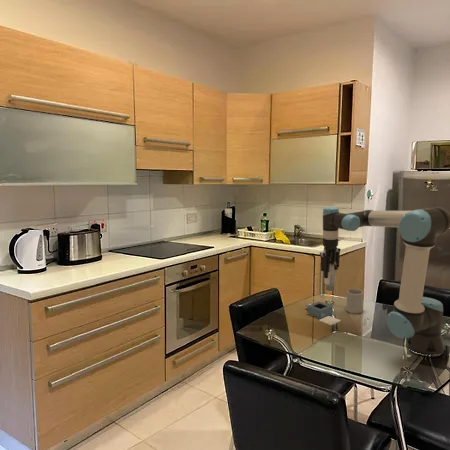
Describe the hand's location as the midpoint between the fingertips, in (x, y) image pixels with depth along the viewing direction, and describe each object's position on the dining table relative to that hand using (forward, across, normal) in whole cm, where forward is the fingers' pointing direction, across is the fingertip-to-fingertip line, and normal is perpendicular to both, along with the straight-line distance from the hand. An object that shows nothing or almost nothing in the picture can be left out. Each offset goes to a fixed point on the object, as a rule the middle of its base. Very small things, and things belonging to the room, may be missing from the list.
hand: (330, 282), depth 207 cm
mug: (+21, -21, -1) cm, 30 cm away
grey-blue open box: (+21, -3, -11) cm, 24 cm away
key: (+4, 0, 0) cm, 4 cm away
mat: (+21, 0, 0) cm, 21 cm away
